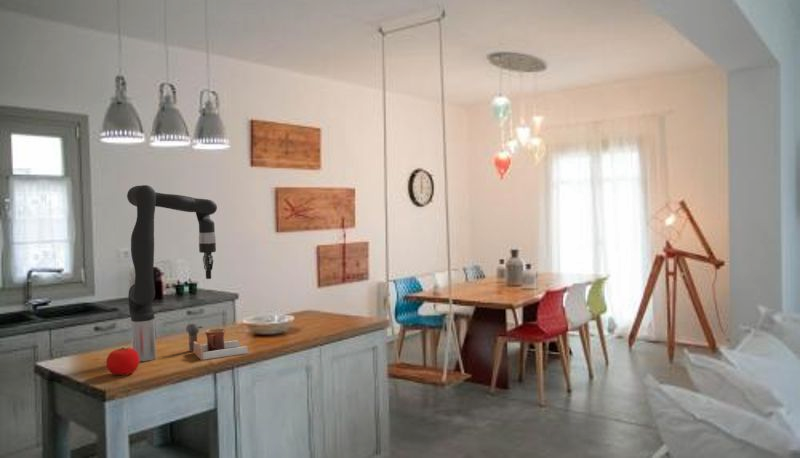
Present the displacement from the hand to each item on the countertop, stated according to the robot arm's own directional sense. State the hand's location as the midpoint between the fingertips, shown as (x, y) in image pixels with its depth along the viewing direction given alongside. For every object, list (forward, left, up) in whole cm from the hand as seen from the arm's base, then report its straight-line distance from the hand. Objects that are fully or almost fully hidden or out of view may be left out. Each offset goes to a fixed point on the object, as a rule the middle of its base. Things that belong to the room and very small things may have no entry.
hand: (208, 278), depth 281 cm
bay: (0, -19, -32) cm, 37 cm away
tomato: (-41, -32, -32) cm, 61 cm away
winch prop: (-8, -7, -32) cm, 34 cm away
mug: (-3, -20, -32) cm, 38 cm away
